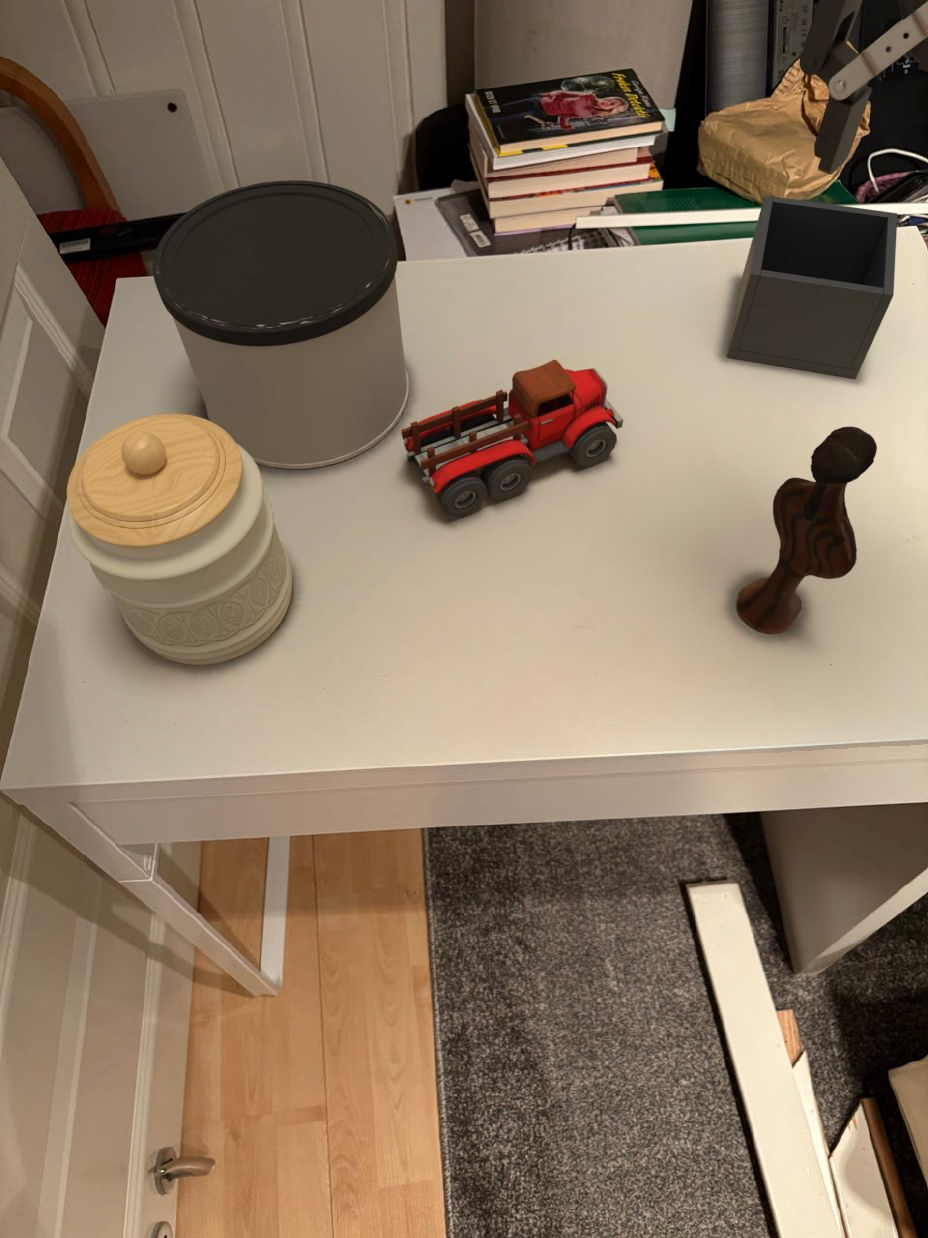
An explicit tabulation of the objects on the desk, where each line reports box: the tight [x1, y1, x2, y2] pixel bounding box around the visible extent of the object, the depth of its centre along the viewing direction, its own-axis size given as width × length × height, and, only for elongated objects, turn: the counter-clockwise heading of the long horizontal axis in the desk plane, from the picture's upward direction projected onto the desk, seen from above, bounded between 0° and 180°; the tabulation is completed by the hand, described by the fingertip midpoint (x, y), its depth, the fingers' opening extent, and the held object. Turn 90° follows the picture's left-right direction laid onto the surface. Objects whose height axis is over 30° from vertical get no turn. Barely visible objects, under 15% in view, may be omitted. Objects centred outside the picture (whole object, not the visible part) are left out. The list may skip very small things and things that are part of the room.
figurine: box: [736, 426, 878, 635], centre depth 60 cm, size 7×5×18 cm
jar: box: [66, 413, 293, 666], centre depth 62 cm, size 13×13×18 cm
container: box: [152, 179, 410, 470], centre depth 75 cm, size 19×19×15 cm
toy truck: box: [400, 359, 624, 519], centre depth 73 cm, size 8×18×8 cm, turn 116°
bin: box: [726, 195, 898, 379], centre depth 80 cm, size 12×12×9 cm
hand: (906, 194), depth 46 cm, fingers open, 8 cm apart
